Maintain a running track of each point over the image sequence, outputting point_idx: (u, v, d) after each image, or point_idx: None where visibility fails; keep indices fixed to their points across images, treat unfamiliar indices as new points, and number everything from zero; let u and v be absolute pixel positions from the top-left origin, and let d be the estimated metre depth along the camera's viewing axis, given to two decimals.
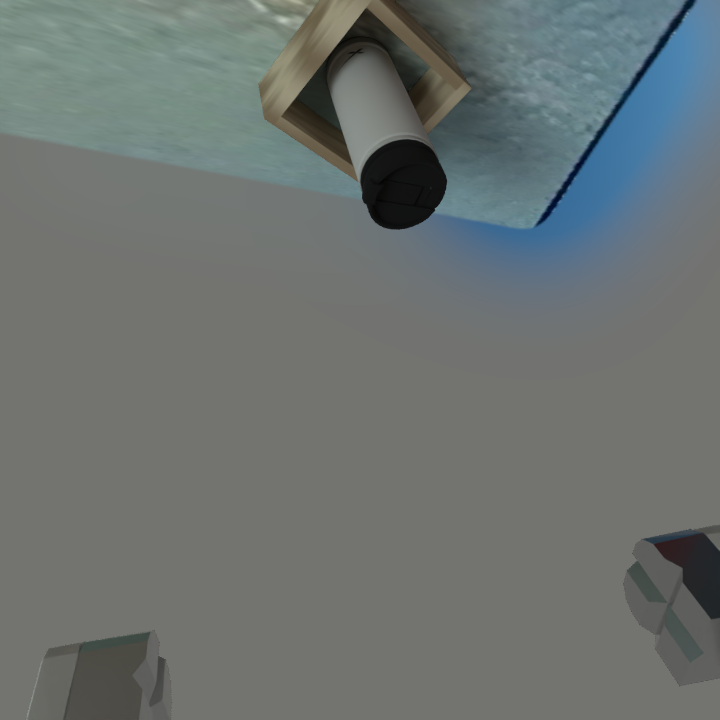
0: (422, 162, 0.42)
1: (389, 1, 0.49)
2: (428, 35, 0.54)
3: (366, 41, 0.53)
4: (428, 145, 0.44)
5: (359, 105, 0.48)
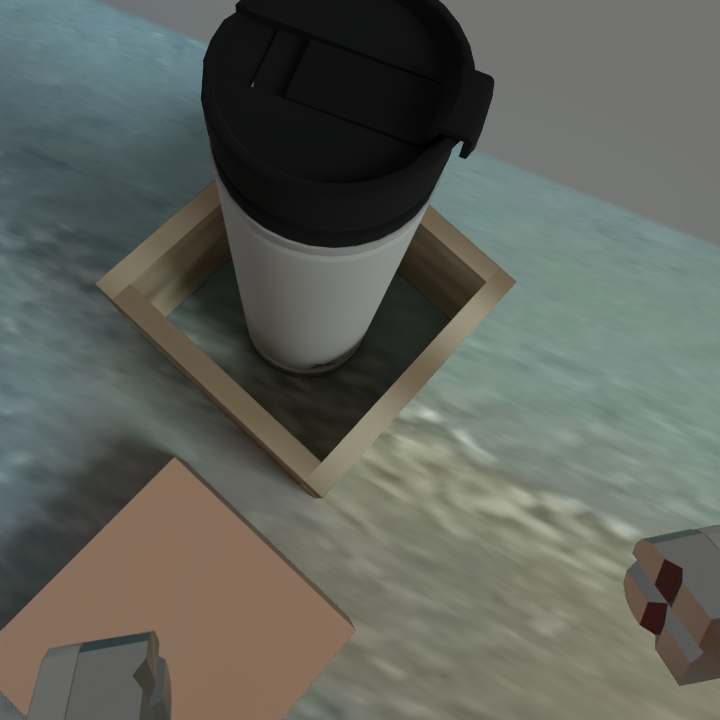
0: (298, 183, 0.13)
1: (260, 444, 0.28)
2: (180, 370, 0.30)
3: (294, 372, 0.30)
4: (247, 216, 0.15)
5: (368, 305, 0.22)
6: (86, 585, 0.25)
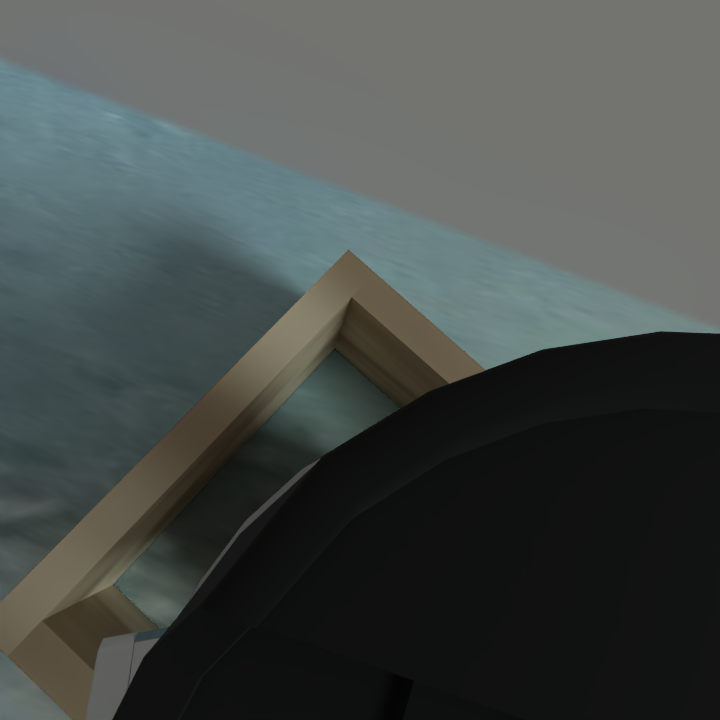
0: None
1: None
2: None
3: None
4: None
5: None
6: None
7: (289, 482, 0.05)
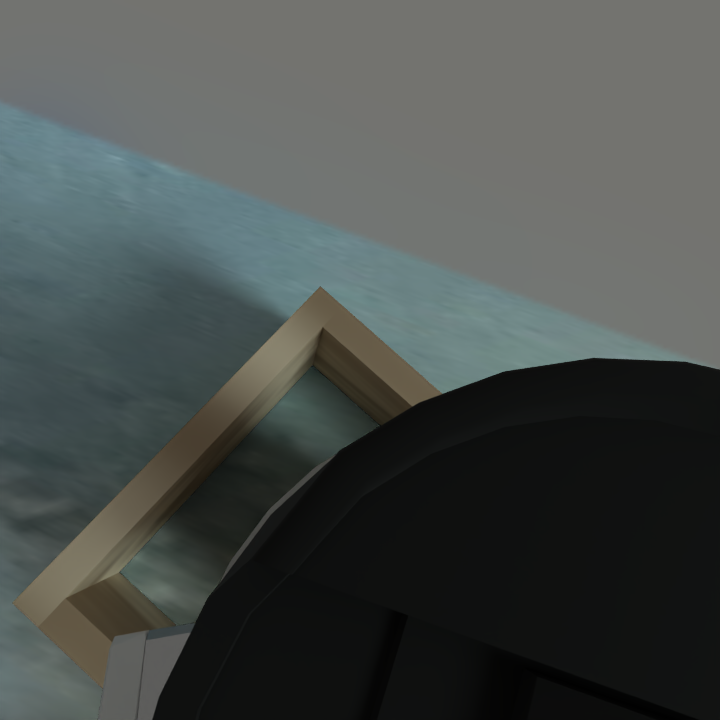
0: None
1: None
2: None
3: None
4: None
5: None
6: None
7: (306, 476, 0.06)
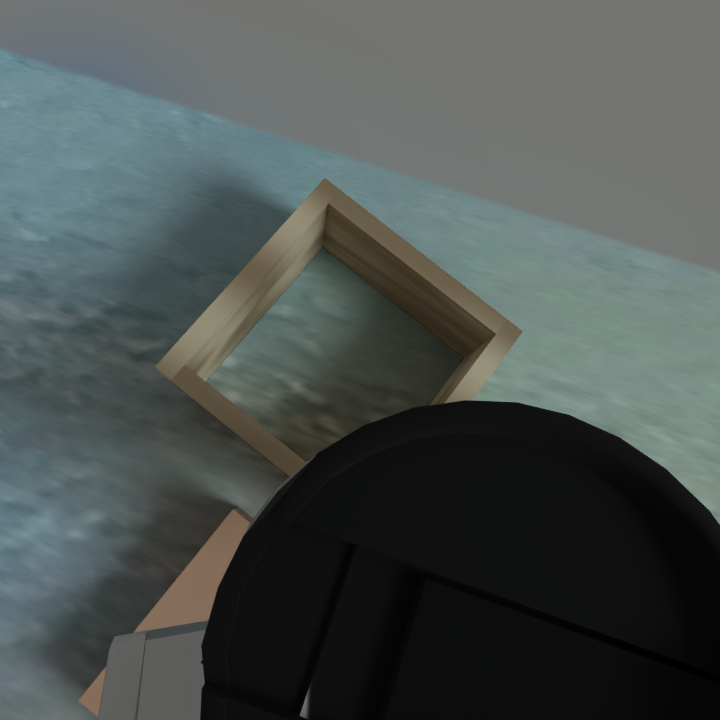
0: None
1: None
2: None
3: None
4: None
5: None
6: None
7: (300, 468, 0.09)
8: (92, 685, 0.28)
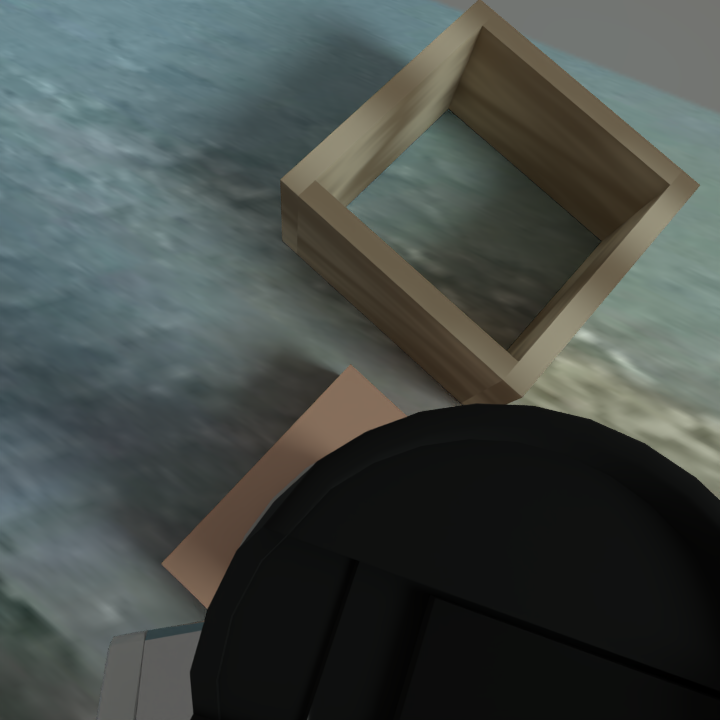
0: None
1: (433, 354, 0.27)
2: (339, 284, 0.29)
3: None
4: None
5: None
6: (271, 491, 0.25)
7: (299, 475, 0.09)
8: (178, 547, 0.24)
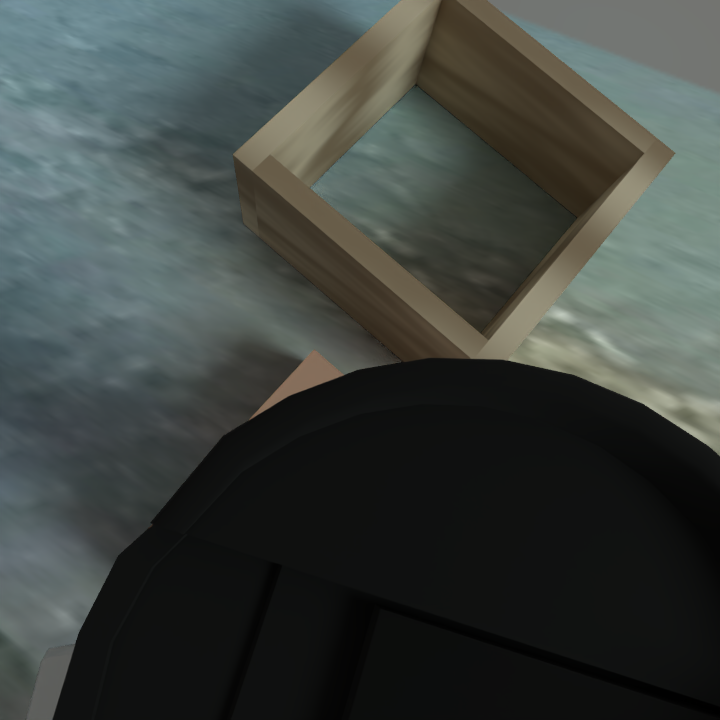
0: None
1: (402, 336, 0.26)
2: (303, 267, 0.28)
3: None
4: None
5: None
6: None
7: None
8: None
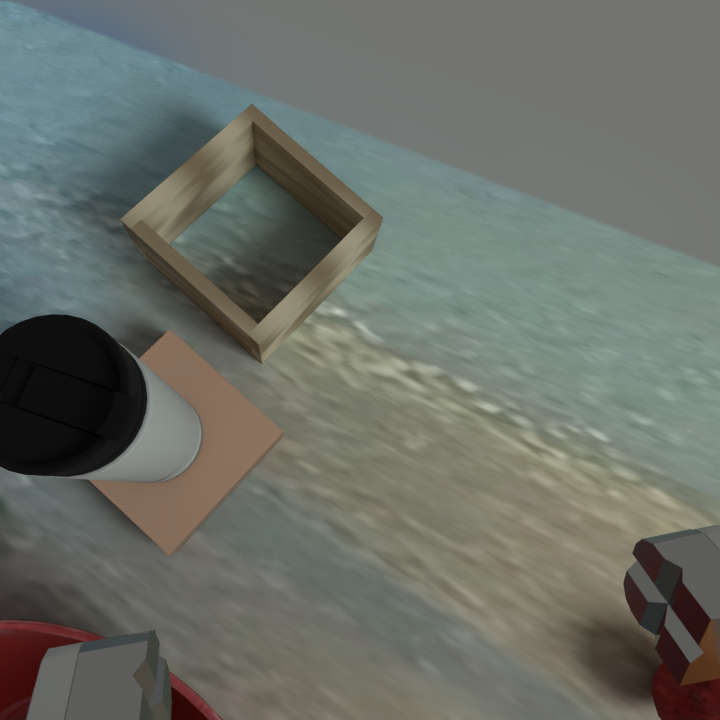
0: (15, 468, 0.22)
1: (224, 322, 0.44)
2: (173, 281, 0.46)
3: None
4: None
5: (149, 467, 0.31)
6: None
7: None
8: None
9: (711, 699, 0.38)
